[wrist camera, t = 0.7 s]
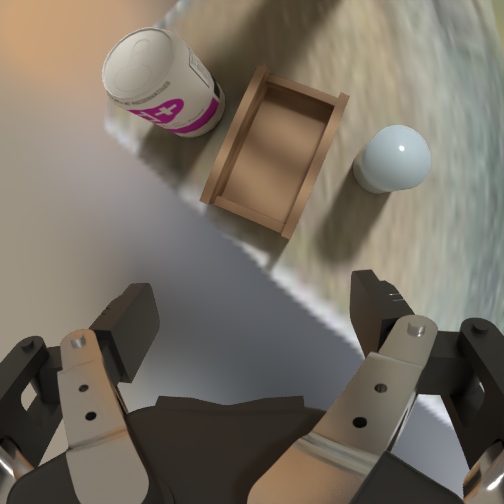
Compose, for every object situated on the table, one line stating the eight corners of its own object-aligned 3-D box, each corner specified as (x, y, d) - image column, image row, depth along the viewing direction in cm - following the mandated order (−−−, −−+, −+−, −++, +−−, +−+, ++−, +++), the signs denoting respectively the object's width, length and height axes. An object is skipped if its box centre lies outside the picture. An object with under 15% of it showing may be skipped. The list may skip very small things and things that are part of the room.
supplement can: (220, 141, 35) (168, 104, 21) (159, 136, 37) (86, 107, 22) (232, 80, 34) (191, 17, 19) (171, 79, 35) (110, 28, 20)
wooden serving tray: (265, 81, 33) (258, 63, 28) (344, 110, 32) (349, 96, 27) (213, 201, 37) (199, 200, 31) (292, 235, 36) (290, 239, 30)
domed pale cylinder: (362, 137, 33) (382, 114, 23) (405, 158, 32) (438, 143, 22) (345, 180, 34) (361, 171, 24) (388, 201, 33) (418, 200, 23)
